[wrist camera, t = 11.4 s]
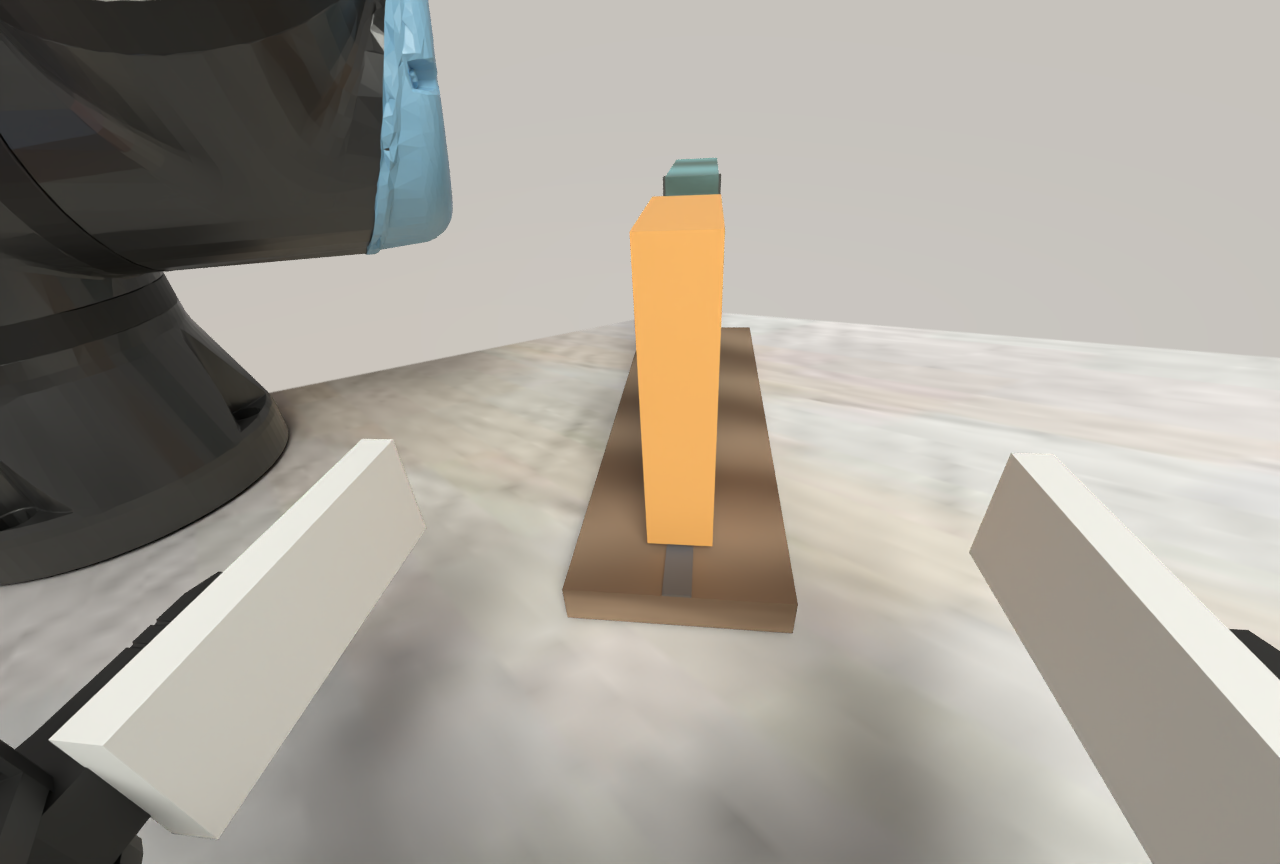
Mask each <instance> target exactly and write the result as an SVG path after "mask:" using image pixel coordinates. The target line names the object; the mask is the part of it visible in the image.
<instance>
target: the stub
mask: <svg viewBox="0 0 1280 864" xmlns="http://www.w3.org/2000/svg"><path fill="white" fill-rule="evenodd" d="M724 237H725V227H724V217H723V208H722V199H721V194H713V195H685V196H661V197H660V196H659V197H652V198H651V200H650V201H649V203H648V205H647V206H646V207H645V209H644V211H643V212H642V214H641V215H640V217H639V218H638V220H637V221H636V223H635V224H634V226H633V227H632V229H631V231H630V246H631V264H632V282H633V297H634V315H635V334H636V352H637V369H638V387H639V404H640V422H641V439H642V457H643V474H644V492H645V509H646V527H647V543H656V544H676V545H695V546H712V543H713V518H714V493H715V467H716V442H717V416H718V391H719V366H720V340H721V315H722V289H723V286H722V285H723V263H724V239H725V238H724Z"/></svg>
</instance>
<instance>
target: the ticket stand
mask: <svg viewBox="0 0 1280 864" xmlns="http://www.w3.org/2000/svg"><path fill="white" fill-rule="evenodd" d="M720 187H721V174H719V173H718V164H717V158H703V159H681V160H676V162H675V163H674V164H673V166H672V168H671V169H670V171H669V172H668V174H667V175H666V176H664V177H663V196H685V195H713V194H720ZM562 591H563V596H564V601H565V606H566V611H567V616H568V617H572V618H586V619H600V620H614V621H629V622H643V623H657V624H671V625H685V626H699V627H713V628H728V629H742V630H756V631H770V632H784V633H793V628H794V623H795V617H796V612H797V606H798V603H797V597H796V592H795V586H794V580H793V574H792V569H791V563H790V557H789V551H788V546H787V540H786V534H785V528H784V523H783V517H782V511H781V506H780V500H779V494H778V488H777V483H776V477H775V471H774V465H773V460H772V454H771V448H770V442H769V437H768V431H767V425H766V419H765V414H764V408H763V402H762V396H761V391H760V385H759V379H758V373H757V368H756V362H755V356H754V351H753V345H752V339H751V333H750V328H721V340H720V366H719V391H718V416H717V442H716V467H715V493H714V518H713V543H712V546H695V545H676V544H656V543H647V527H646V509H645V492H644V474H643V457H642V439H641V422H640V404H639V387H638V369H637V352H635V355H634V359H633V362H632V365H631V368H630V372H629V375H628V378H627V381H626V385H625V388H624V391H623V394H622V398H621V401H620V404H619V407H618V411H617V414H616V417H615V420H614V423H613V427H612V430H611V433H610V436H609V440H608V443H607V446H606V449H605V453H604V456H603V459H602V462H601V466H600V469H599V472H598V475H597V479H596V482H595V485H594V488H593V492H592V495H591V498H590V501H589V505H588V508H587V511H586V514H585V518H584V521H583V524H582V527H581V531H580V534H579V537H578V540H577V544H576V547H575V550H574V553H573V557H572V560H571V563H570V566H569V570H568V573H567V576H566V579H565V583H564V586H563V589H562Z"/></svg>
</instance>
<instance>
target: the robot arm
mask: <svg viewBox="0 0 1280 864" xmlns="http://www.w3.org/2000/svg"><path fill="white" fill-rule="evenodd" d="M452 209H453V208H452V190H451V181H450V170H449V161H448V153H447V145H446V137H445V128H444V121H443V113H442V106H441V98H440V92H439V86H438V81H437V68H436V63H435V55H434V46H433V34H432V27H431V19H430V11H429V4H428V0H0V585H7V584H14V583H20V582H25V581H31V580H35V579H40V578H44V577H49V576H53V575H56V574H60V573H64V572H68V571H71V570H75V569H78V568H81V567H85V566H88V565H91V564H94V563H97V562H100V561H103V560H106V559H108V558H111V557H114V556H117V555H119V554H122V553H125V552H127V551H130V550H132V549H135V548H137V547H140V546H142V545H145V544H147V543H149V542H152V541H154V540H156V539H158V538H160V537H163V536H165V535H167V534H169V533H171V532H173V531H175V530H177V529H179V528H181V527H183V526H185V525H187V524H189V523H191V522H193V521H195V520H197V519H198V518H200V517H202V516H204V515H206V514H207V513H209V512H211V511H212V510H214V509H216V508H218V507H219V506H221V505H222V504H224V503H225V502H227V501H229V500H230V499H232V498H233V497H235V496H236V495H237V494H239V493H240V492H242V491H243V490H244V489H246V488H247V487H248V486H250V485H251V484H252V483H253V482H255V481H256V480H257V479H258V478H259V477H260V476H262V475H263V474H264V473H265V472H266V471H267V470H268V469H269V468H270V467H271V466H272V465H273V463H274V462H275V461H276V460H277V459H278V457H279V456H280V455H281V453H282V451H283V450H284V448H285V446H286V443H287V440H288V428H287V425H286V423H285V421H284V419H283V417H282V415H281V413H280V411H279V409H278V408H277V406H276V404H275V402H274V400H273V398H272V397H271V396H270V394H269V393H268V392H267V391H266V390H265V389H264V388H263V387H262V386H261V385H260V384H259V383H258V382H257V381H256V380H255V379H254V378H253V377H252V376H251V375H250V374H249V373H248V372H247V371H245V370H244V369H243V368H242V367H241V366H240V365H239V364H238V363H237V362H236V361H235V360H234V359H233V358H232V357H231V356H230V355H229V354H228V353H227V352H225V350H223V349H222V348H221V347H220V346H219V345H218V344H217V343H216V342H215V341H214V340H213V339H212V338H211V337H210V336H209V335H208V334H207V333H206V332H205V331H204V330H203V329H202V328H200V327H199V326H198V325H197V324H196V323H195V322H194V321H193V320H192V319H191V318H190V316H189V315H188V314H187V313H186V311H185V310H184V308H183V306H182V305H181V303H180V301H179V300H178V298H177V296H176V294H175V292H174V291H173V289H172V287H171V285H170V283H169V282H168V280H167V278H166V276H165V274H164V273H163V271H173V270H184V269H196V268H207V267H218V266H230V265H241V264H252V263H264V262H275V261H286V260H298V259H309V258H320V257H331V256H343V255H354V254H376V253H378V252H379V251H380V250H381V249H387V248H393V247H398V246H405V245H410V244H416V243H422V242H428V241H430V240H432V239H435V238H437V236H439V235H440V234H441V233H443V232H444V231H445V230H446V228H447V226H448V225H449V223H450V220H451V217H452ZM425 530H426V526H425V523H424V520H423V518H422V515H421V512H420V510H419V507H418V504H417V502H416V499H415V496H414V494H413V491H412V488H411V486H410V483H409V481H408V478H407V475H406V473H405V470H404V467H403V465H402V462H401V459H400V457H399V454H398V451H397V449H396V446H395V443H394V441H393V439H361V440H360V441H359V442H358V443H357V444H356V445H355V446H354V447H353V448H352V449H351V450H350V451H349V452H348V453H347V454H346V455H345V456H344V457H343V458H342V459H341V460H340V461H339V462H337V463H336V464H335V465H334V466H333V467H332V468H331V469H330V470H329V471H328V472H327V473H326V474H325V475H324V476H323V477H322V478H321V479H320V480H319V481H318V482H317V483H316V484H315V485H313V486H312V487H311V488H310V489H309V490H308V491H307V492H306V493H305V494H304V495H303V496H302V497H301V498H300V499H299V500H298V501H297V502H296V503H295V504H294V505H293V506H292V507H291V508H290V509H288V510H287V511H286V512H285V513H284V514H283V515H282V516H281V517H280V518H279V519H278V520H277V521H276V522H275V523H274V524H273V525H272V526H271V527H270V528H269V529H268V530H267V531H266V532H264V533H263V534H262V535H261V536H260V537H259V538H258V539H257V540H256V541H255V542H254V543H253V544H252V545H251V546H250V547H249V548H248V549H247V550H246V551H245V552H244V553H243V554H242V555H240V556H239V557H238V558H237V559H236V560H235V561H234V562H233V563H232V564H231V565H230V566H229V567H228V568H227V569H226V570H225V571H224V572H217V573H216V574H214V575H213V576H211V577H210V578H208V579H206V580H205V581H203V582H202V583H200V584H199V585H197V586H196V587H194V588H192V589H191V590H189V591H188V592H186V593H185V594H184V595H182V596H181V597H180V598H179V599H178V600H177V601H176V602H175V603H174V604H173V605H172V606H171V607H170V608H168V609H167V610H166V611H165V612H164V613H163V614H162V615H161V616H160V617H159V618H158V619H157V622H156V624H155V625H150V626H149V627H148V628H147V629H146V630H145V631H144V632H143V633H142V634H140V635H139V636H138V637H137V638H136V639H135V640H134V641H133V645H132V647H130V648H125V649H124V650H123V651H122V652H121V653H120V654H119V655H118V656H117V657H116V658H115V659H114V660H112V661H111V662H110V663H109V664H108V665H107V666H106V667H105V668H104V669H103V670H102V671H101V672H100V673H98V674H97V675H96V676H95V677H94V678H93V679H92V680H91V681H90V682H89V683H88V684H87V685H86V686H84V687H83V688H82V689H81V690H80V691H79V692H78V693H77V694H76V695H75V696H74V697H73V698H72V699H70V700H69V701H68V702H67V703H66V704H65V705H64V706H63V707H62V708H61V709H60V710H59V711H58V712H56V713H55V714H54V715H53V716H52V717H51V718H50V719H49V720H48V721H47V722H46V723H45V724H44V725H42V726H41V727H40V728H39V729H38V730H37V731H36V732H35V733H34V734H33V735H31V736H30V737H29V738H28V739H27V740H26V741H24V742H23V743H22V744H21V745H20V746H18V747H17V748H16V749H13V748H12V747H10V746H9V745H8V744H6V743H5V742H3V741H2V740H0V864H142V858H143V847H142V839H141V838H139V837H138V836H137V835H136V834H137V833H138V832H139V830H140V829H141V828H142V827H143V825H144V824H145V823H146V821H147V820H148V819H149V818H150V817H151V818H153V819H154V820H155V821H157V822H158V823H159V824H161V825H162V826H163V827H165V828H166V829H167V830H169V831H170V832H171V833H173V834H178V835H186V836H194V837H201V838H209V839H217V840H218V839H219V838H220V836H221V835H222V833H223V832H224V830H225V829H226V827H227V826H228V824H229V823H230V821H231V820H232V818H233V817H234V815H235V814H236V812H237V811H238V809H239V808H240V806H241V805H242V803H243V802H244V800H245V799H246V797H247V796H248V794H249V793H250V791H251V790H252V788H253V787H254V785H255V784H256V782H257V781H258V779H259V778H260V776H261V775H262V773H263V772H264V770H265V769H266V767H267V766H268V764H269V763H270V761H271V760H272V758H273V757H274V756H275V754H276V753H277V751H278V750H279V748H280V747H281V745H282V744H283V742H284V741H285V739H286V738H287V736H288V735H289V733H290V732H291V730H292V729H293V727H294V726H295V724H296V723H297V721H298V720H299V718H300V717H301V715H302V714H303V712H304V711H305V709H306V708H307V706H308V705H309V703H310V702H311V700H312V699H313V697H314V696H315V694H316V693H317V691H318V690H319V688H320V687H321V685H322V684H323V682H324V681H325V679H326V678H327V676H328V675H329V673H330V672H331V670H332V669H333V667H334V666H335V664H336V663H337V661H338V660H339V658H340V657H341V655H342V654H343V652H344V651H345V649H346V648H347V646H348V645H349V643H350V642H351V640H352V639H353V637H354V636H355V634H356V633H357V631H358V630H359V628H360V627H361V625H362V624H363V622H364V621H365V619H366V618H367V616H368V615H369V613H370V612H371V610H372V609H373V607H374V606H375V604H376V603H377V601H378V600H379V598H380V597H381V595H382V594H383V592H384V591H385V589H386V588H387V586H388V585H389V583H390V582H391V580H392V579H393V577H394V576H395V574H396V573H397V571H398V570H399V568H400V567H401V565H402V564H403V563H404V561H405V560H406V558H407V557H408V555H409V554H410V552H411V551H412V549H413V548H414V546H415V545H416V543H417V542H418V540H419V539H420V537H421V536H422V534H423V533H424V531H425ZM969 553H970V555H971V556H972V558H973V560H974V561H975V563H976V565H977V567H978V568H979V570H980V572H981V573H982V575H983V577H984V578H985V580H986V582H987V584H988V585H989V587H990V589H991V590H992V592H993V594H994V595H995V597H996V599H997V600H998V602H999V604H1000V606H1001V607H1002V609H1003V611H1004V612H1005V614H1006V616H1007V617H1008V619H1009V621H1010V623H1011V624H1012V626H1013V628H1014V629H1015V631H1016V633H1017V634H1018V636H1019V638H1020V639H1021V641H1022V643H1023V645H1024V646H1025V648H1026V650H1027V651H1028V653H1029V655H1030V656H1031V658H1032V660H1033V662H1034V663H1035V665H1036V667H1037V668H1038V670H1039V672H1040V673H1041V675H1042V677H1043V679H1044V680H1045V682H1046V684H1047V685H1048V687H1049V689H1050V690H1051V692H1052V694H1053V695H1054V697H1055V699H1056V701H1057V702H1058V704H1059V706H1060V707H1061V709H1062V711H1063V712H1064V714H1065V716H1066V718H1067V719H1068V721H1069V723H1070V724H1071V726H1072V728H1073V729H1074V731H1075V733H1076V734H1077V736H1078V738H1079V740H1080V741H1081V743H1082V745H1083V746H1084V748H1085V750H1086V751H1087V753H1088V755H1089V757H1090V758H1091V760H1092V762H1093V763H1094V765H1095V767H1096V768H1097V770H1098V772H1099V774H1100V775H1101V777H1102V779H1103V780H1104V782H1105V784H1106V785H1107V787H1108V789H1109V790H1110V792H1111V794H1112V796H1113V797H1114V799H1115V801H1116V802H1117V804H1118V806H1119V807H1120V809H1121V811H1122V813H1123V814H1124V816H1125V818H1126V819H1127V821H1128V823H1129V824H1130V826H1131V828H1132V829H1133V831H1134V833H1135V835H1136V836H1137V838H1138V840H1139V841H1140V843H1141V845H1142V846H1143V848H1144V850H1145V852H1146V853H1147V855H1148V857H1149V858H1150V860H1151V862H1152V863H1153V864H1280V651H1279V650H1277V649H1276V648H1274V647H1273V646H1271V645H1270V644H1268V643H1267V642H1265V641H1264V640H1262V639H1261V638H1259V637H1258V636H1256V635H1255V634H1253V633H1252V632H1250V631H1249V630H1237V629H1228V628H1227V627H1226V626H1225V625H1224V624H1223V623H1222V622H1221V621H1220V620H1219V619H1218V618H1217V617H1216V616H1215V615H1214V614H1213V613H1212V612H1211V611H1210V610H1209V609H1208V608H1207V607H1206V606H1205V605H1204V604H1203V603H1202V602H1201V601H1200V600H1199V599H1198V598H1197V597H1196V596H1195V595H1194V594H1193V593H1192V592H1191V591H1190V590H1189V589H1188V588H1187V587H1186V586H1185V585H1184V584H1183V583H1182V582H1181V581H1180V580H1179V579H1178V578H1177V577H1176V576H1175V575H1174V574H1173V573H1172V572H1171V571H1170V570H1169V569H1168V568H1167V567H1166V566H1165V565H1164V564H1163V563H1162V562H1161V561H1160V560H1159V559H1158V558H1157V557H1156V556H1155V555H1154V554H1153V553H1152V552H1151V551H1150V550H1149V549H1148V548H1147V547H1146V546H1145V545H1144V544H1143V543H1142V542H1141V541H1140V540H1139V539H1138V538H1137V537H1136V536H1135V535H1134V534H1133V533H1132V532H1131V531H1130V530H1129V529H1128V528H1127V527H1126V526H1125V525H1124V524H1123V523H1122V522H1121V521H1120V520H1119V519H1118V518H1117V517H1116V516H1115V515H1114V514H1113V513H1112V512H1111V511H1110V510H1109V509H1108V508H1107V507H1106V506H1105V505H1104V504H1103V503H1102V502H1101V501H1100V500H1099V499H1098V498H1097V497H1096V496H1095V495H1094V494H1093V493H1092V492H1091V491H1090V490H1089V489H1088V488H1087V487H1086V486H1085V485H1084V484H1083V483H1082V482H1081V481H1080V480H1079V479H1078V478H1077V477H1076V476H1075V475H1074V474H1073V473H1072V472H1071V471H1070V470H1069V469H1068V468H1067V467H1066V466H1065V465H1064V464H1063V463H1062V462H1061V461H1060V460H1059V459H1058V458H1057V457H1056V456H1055V455H1054V454H1037V453H1011V454H1010V457H1009V459H1008V461H1007V464H1006V466H1005V469H1004V471H1003V473H1002V476H1001V478H1000V480H999V483H998V485H997V487H996V490H995V492H994V495H993V497H992V499H991V502H990V504H989V506H988V509H987V511H986V513H985V516H984V518H983V521H982V523H981V525H980V528H979V530H978V532H977V535H976V537H975V539H974V542H973V544H972V547H971V549H970V551H969Z"/></svg>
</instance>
